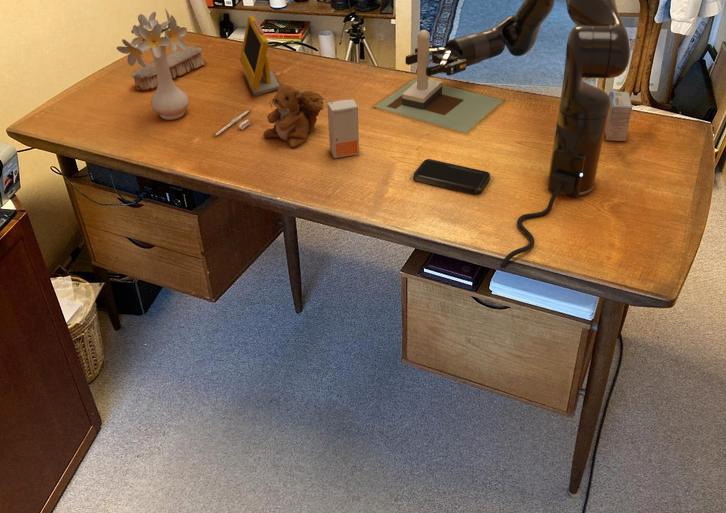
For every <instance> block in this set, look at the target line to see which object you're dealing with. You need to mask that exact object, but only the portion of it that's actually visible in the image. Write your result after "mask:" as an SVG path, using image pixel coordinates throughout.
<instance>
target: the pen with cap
mask: <svg viewBox="0 0 726 513" xmlns="http://www.w3.org/2000/svg"><path fill="white" fill-rule="evenodd" d="M249 112H250V110H248V109H247V110H245V111H244V112H243V113H241V114H240V115H238V116H237V115H236V116H234V117H232V118H231V120H230V121H229V123H228V124H227V125H225V126H224V127H222V128H221V129H219V130H218V131H216V133H215V135H214V136H215V137H217V136H219V135H221V134H222V133H223V132H224V131H226V130H227V129H229V128H230V127H232V126H233V125H234V124H236V123H237V122H239V124H238V129H239V130H244V129H245V128H246V127H247V126H249V125H250V124H251V120H250V119H247V118H245V120H244V121H243V120H242V118H243V117H245V116H246V115H248V114H249Z"/></svg>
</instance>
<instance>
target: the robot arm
mask: <svg viewBox="0 0 726 513" xmlns="http://www.w3.org/2000/svg"><path fill="white" fill-rule="evenodd" d="M555 3H556V0H524V1H523V2H522V3H521V5H520V6H519V8H518V9H517V11H516V13H515V15H514V14H512V15H509V16H507V17H505V18H504V19H502V20H501V21H500V22H499V23H497V24H496V25H495V26H493V27H491V28H489V29H486V30H482V31H479V32H475V33H469V34H465V35H462V36H459V37H455V38H451V39H450V40H448V41H447V42H446V44H445V46H443V47H436V44H435V43H429V57H430V56H431V58H429V64H432V65H429V67H427V68H426V75H427V76H428V77H432V76H435V75H438V74H440V75H444V74H445V75H446V76H448V77H449V76H450V77H451V76H453V75H455V74H456V75H457V74H458V73H461V72H464V71H466V70H467V67H471V66H473V65H476V64H479V63H481V62H483V61H485V60H489V59H491V58H494V57H497V56H500V55H501V54H503V52H504V51H505V48H506V49H507V50H508V53H509V54H510V55H512V56H514V57H523V56H524V55H526V54H528V53H529V52H530V51H531V50H532V48H533V47H534V45H535V43H536V41H537V40H538V35H539V33H540V29H541V26H542V25H543V23H544V22H545V21H546V19H547V18H548V17H549V15H550V14H551V13H552V12H553V8H554V6H555ZM565 4H566V10H567V14H568V17H569V19H570V20H571V21H572V23H573V24H574V25H575V26H574V27H572V29H571V30H570V32H569V33H568V34H569V35H568V38H567V41H566V48H565V58H564V59H565V60H564V69H563V70H564V71H563V80H562V87H561V93H560V100H559V106H558V112H557V113H558V114H557V120H556V127H555V132H554V139H553V146H552V151H551V159H550V165H549V172H548V176H547V186H548V188H547V190H548V191H549V192H552V194H551V197H550V198H549V200H548V204H547V207H546V208H545V209H543V210H542V211H539V212H532V213H525V214H522V215H520V216H519V217H518V218H517V220H516V225H517V228H518V229H519V230H520V231H521V232H522V233H523V234H524V236H526V237H527V239H528V244H526V245H525V246H522V247H519V248H516V249H514V250H512V251H511V252H509V253H508V254H507V255H506V256H505V257H504V258H503V260H502V261H501V264H500V265H499V268H501V269H504V268H506V266H507V265H508V263H509V262H510V260H511V259H512V258H513V257H515V256H517V255H520V254H523V253H525V252H528V251H530V250H531V249H532V248H533V247H534V245H535V237H534V235H533V234H532V233H531V232H530V231H529V230H528V229H527V228H526V227H525V226H524V224H523V221H524V220H527V219H536V218H542V217H544V216H546V215H548V214H549V213H550V212H551V211H552V209H553V206H554V202H555V200H556V198H557V197H558V195H562V196H566V197H569V198H573V199H578V198H579V197H582V196H586V195H588V194H591V193H592V192H593V191H594V189H595V185H596V176H597V172H598V170H597V169H598V166H599V161H600V156H601V151H602V146H603V141H604V137H605V127H606V122H607V117H608V112H609V107H610V97H609V93H607V92H606V91H605V90H603V89H601V88H600V87H596V86H595V85H592V84H589V83H587V82H586V81H585V80H583V79H584V78H585V79H613V78H617V77H620V76H621V75H622V74H624V72H625V71H626V69H627V68H628V65H629V63H630V58H631V43H630V38H629V34H628V31H627V28H626V26H625V24H624V22H623V20H622V18H621V16H620V13H619V10H618V6H617V2H616V0H565ZM417 53H418V47H415V48H414V53H412V54H408V55H405V60H404V61H405V65H406V66H409V65H413V64H417Z"/></svg>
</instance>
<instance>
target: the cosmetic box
mask: <svg viewBox="0 0 726 513" xmlns="http://www.w3.org/2000/svg"><path fill="white" fill-rule="evenodd" d="M326 105H327V123H328V124H327V125H328V141H329V151H330V153H331V155H332V156H333V159H337V158H338V159H339V158H344V157H350V156H351V157H352V156H356V155H357V156H358V155H360V142H359V141H360V138H359V136H360V135H359V134H360V131H359V105H357V103H356V101H355V99H354V98H351V99H343V100H342V99H341V100H337V101H331V102H327V103H326Z"/></svg>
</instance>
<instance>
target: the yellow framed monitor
mask: <svg viewBox="0 0 726 513" xmlns="http://www.w3.org/2000/svg"><path fill="white" fill-rule="evenodd" d="M268 49H269V41H268V39H267V37H266V35H265V31H263V29H262V27H261V25H260V23H259V22H258V20H257V19H256V17H255V16H254V15H251V14H249V15H248V17H247V21H246V27H245V32H244V36H243V41H242V47H241V52H240V57H239V62H240V64H241V66H242V68H243V70H244V78H245V80H246V81H247V83H248V86H249V88H250V90H251V93H252V95H253V96H254V97H257V96H260V95H264V94H268V93H271V92H275V91H276V92H277V91H278V88H279V87H280V82H279V81H278V80H277V77H276V75H275V74H274V71H273V70H270V65H269V64H270V63H269V58H268V56H267V53H268Z"/></svg>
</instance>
